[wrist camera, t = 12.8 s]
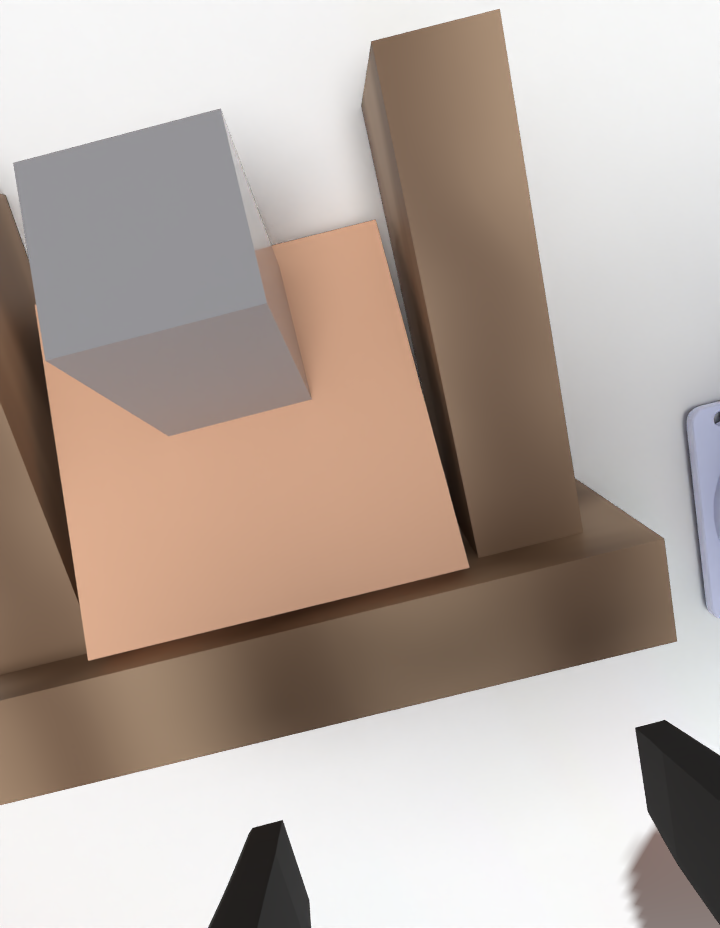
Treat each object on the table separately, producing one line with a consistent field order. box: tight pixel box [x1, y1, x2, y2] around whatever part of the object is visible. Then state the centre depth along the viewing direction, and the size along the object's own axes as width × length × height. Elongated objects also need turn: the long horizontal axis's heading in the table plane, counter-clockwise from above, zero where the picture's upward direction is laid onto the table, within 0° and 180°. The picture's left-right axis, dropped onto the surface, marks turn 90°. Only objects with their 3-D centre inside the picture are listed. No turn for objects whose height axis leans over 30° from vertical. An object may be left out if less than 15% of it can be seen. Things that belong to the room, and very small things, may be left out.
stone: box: [13, 109, 312, 436], centre depth 14 cm, size 4×4×6 cm
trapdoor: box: [35, 220, 469, 661], centre depth 17 cm, size 10×10×1 cm
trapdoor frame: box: [0, 9, 677, 805], centre depth 17 cm, size 20×16×6 cm
